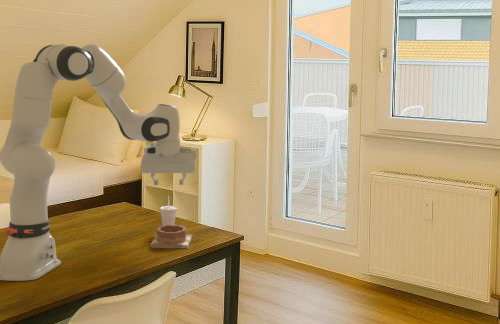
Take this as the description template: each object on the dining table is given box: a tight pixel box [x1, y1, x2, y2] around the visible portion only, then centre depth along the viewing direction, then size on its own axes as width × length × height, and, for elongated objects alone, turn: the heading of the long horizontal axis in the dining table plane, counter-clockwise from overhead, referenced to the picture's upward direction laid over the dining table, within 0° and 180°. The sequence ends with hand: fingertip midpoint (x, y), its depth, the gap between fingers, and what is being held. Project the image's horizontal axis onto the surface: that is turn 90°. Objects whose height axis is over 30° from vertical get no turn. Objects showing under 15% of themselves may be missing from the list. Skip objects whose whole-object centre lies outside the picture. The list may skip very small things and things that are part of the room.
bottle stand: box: [149, 224, 193, 249], centre depth 221 cm, size 13×13×5 cm
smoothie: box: [159, 195, 178, 226], centre depth 232 cm, size 6×6×14 cm
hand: (168, 184), depth 230 cm, fingers open, 8 cm apart
